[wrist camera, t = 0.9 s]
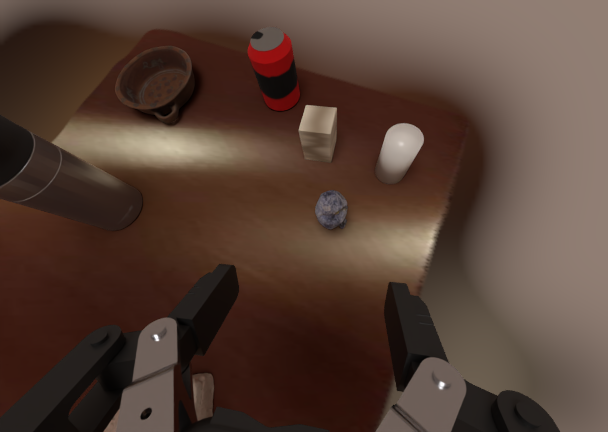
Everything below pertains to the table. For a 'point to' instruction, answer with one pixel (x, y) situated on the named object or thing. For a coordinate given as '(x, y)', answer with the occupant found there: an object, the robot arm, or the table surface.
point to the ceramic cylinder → (398, 152)
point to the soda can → (274, 68)
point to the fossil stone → (331, 210)
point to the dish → (157, 82)
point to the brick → (202, 399)
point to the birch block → (318, 133)
